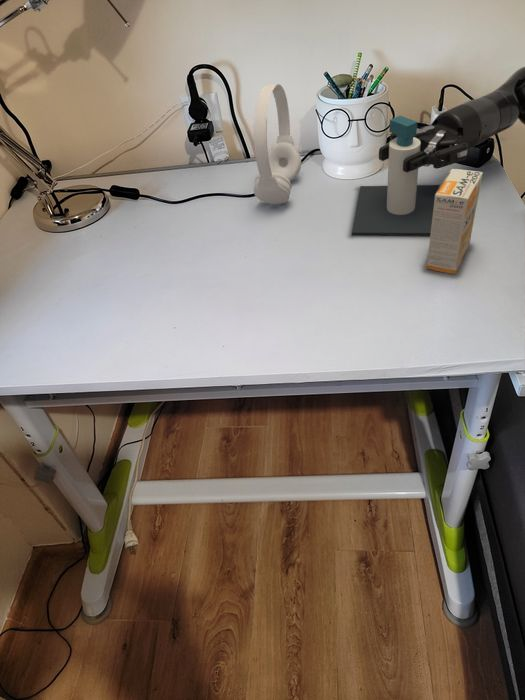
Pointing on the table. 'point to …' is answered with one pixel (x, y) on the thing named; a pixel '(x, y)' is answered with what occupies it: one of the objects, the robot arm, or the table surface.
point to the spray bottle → (399, 181)
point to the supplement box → (453, 219)
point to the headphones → (274, 150)
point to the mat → (382, 222)
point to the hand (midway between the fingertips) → (392, 160)
